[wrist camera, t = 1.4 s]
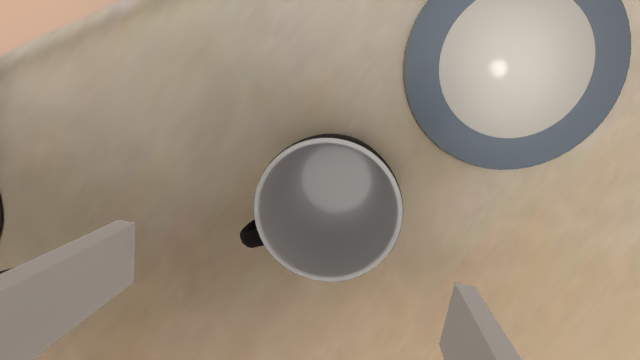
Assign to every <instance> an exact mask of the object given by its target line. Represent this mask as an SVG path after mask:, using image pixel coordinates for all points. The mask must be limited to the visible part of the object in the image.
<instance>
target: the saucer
mask: <svg viewBox="0 0 640 360" xmlns="http://www.w3.org/2000/svg"><path fill="white" fill-rule="evenodd" d="M630 55H631V32H630V26H629V20H628V17H627V14H626V10H625V7H624V5H623V3H622V1H621V0H429V1H428V2H427V4H426V5H425V6H424V8H423V9H422V11H421V13H420V14H419V16H418V18H417V20H416V22H415V24H414V26H413V29H412V31H411V34H410V36H409V40H408V44H407V47H406V51H405V59H404V85H405V92H406V96H407V100H408V103H409V106H410V108H411V111H412V113H413V116H414V118H415V119H416V121H417V123H418V124H419V126H420V128H421V129H422V130H423V131H424V133H425V134H426V135H427V136H428V137H429V138H430V139H431V140H432V141H433V142H434V143H435V144H436V145H437V146H438V147H440V148H441V149H442V150H444V151H445V152H447V153H448V154H450V155H452V156H454V157H456V158H458V159H460V160H462V161H464V162H467V163H469V164H472V165H475V166H480V167H484V168H490V169H500V170H504V169H519V168H526V167H531V166H535V165H538V164H542V163H545V162H547V161H550V160H552V159H555V158H557V157H559V156H561V155H562V154H564V153H566V152H568V151H570V150H571V149H573V148H574V147H575V146H577V145H578V144H580V143H581V142H582V141H584V140H585V139H586V138H587V137H588V136H589V135H590V134H591V133H593V132H594V131H595V129H596V128H597V127H598V126H599V125H600V124H601V123H602V122H603V121H604V119H605V118H606V116H607V115H608V113H609V112H610V111H611V109H612V108H613V106H614V104H615V102H616V100H617V99H618V97H619V95H620V93H621V90H622V88H623V85H624V83H625V80H626V76H627V72H628V68H629V63H630Z"/></svg>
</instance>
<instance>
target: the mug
mask: <svg viewBox="0 0 640 360" xmlns="http://www.w3.org/2000/svg"><path fill="white" fill-rule="evenodd" d="M254 218H255V219H254V220H253V221H251V222H250V223H249V224H248V225H246V226H245V227H244V228H243V229H242V231H241V233H240V238H241V240H242V242H243V244H244V245H246V246H247V247H250V248H254V247H258V246H263V245H265V247H266V249H267V250H268V251H269V253H270V254H271V255H272V256H273V257H274V258H275V259H276V260H277V261H278V262H279V263H280V264H281V265H283V266H284V267H285V268H287V269H288V270H290V271H292V272H293V273H296V274H298V275H300V276H302V277H305V278H308V279H312V280H317V281H324V282H336V281H344V280H349V279H352V278H355V277H358V276H361V275H363V274H365V273H367V272H368V271H370V270H372V269H373V268H374V267H376V266H377V265H378V264H379V263H381V262H382V261H383V260H384V259H385V257H386V256H387V255H388V254H389V253H390V251H391V250H392V248H393V246H394V245H395V243H396V241H397V239H398V236H399V233H400V230H401V226H402V220H403V201H402V196H401V191H400V188H399V185H398V183H397V180H396V178H395V176H394V174H393V172H392V170H391V169H390V167H389V166H388V165H387V163H386V162H385V161H384V160H383V158H382V157H381V156H380V155H379V154H378V153H377V152H376V151H375V150H373V149H372V148H371V147H370V146H368V145H367V144H365V143H363V142H362V141H360V140H358V139H355V138H352V137H349V136H346V135H340V134H322V135H316V136H312V137H308V138H306V139H303V140H300V141H298V142H296V143H294V144H292V145H291V146H289V147H287V148H286V149H284V150H283V151H282V152H280V153H279V154H278V155H277V156H276V157H275V158H274V159H273V160H272V161H271V162H270V163H269V165H268V166H267V167H266V169H265V170H264V172H263V174H262V176H261V178H260V180H259V182H258V185H257V188H256V192H255V197H254Z"/></svg>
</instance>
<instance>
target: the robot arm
mask: <svg viewBox="0 0 640 360" xmlns="http://www.w3.org/2000/svg"><path fill="white" fill-rule="evenodd" d="M1 225H2V210H1V203H0V231H1ZM135 233H136V223H135V222H130V221H125V220H119V219H118V220H116V221H114V222H112V223H110V224H108V225H105V226H103V227H101V228H99V229H97V230H95V231H92V232H90V233H88V234H86V235H84V236H82V237H79V238H77V239H75V240H73V241H71V242H69V243H66V244H64V245H62V246H60V247H58V248H56V249H53V250H51V251H49V252H47V253H45V254H42V255H40V256H38V257H36V258H34V259H32V260H29V261H27V262H25V263H23V264H21V265H19V266H16V267H14V268H11V269H7V270H4V271H0V360H33V359H35V358H36V357H37V356H39V355H40V354H41V353H42V352H44V351H45V350H46V349H48V348H49V347H50V346H52V345H53V344H54V343H55V342H57V341H58V340H59V339H61V338H62V337H63V336H65V335H66V334H67V333H68V332H70V331H71V330H72V329H74V328H75V327H76V326H78V325H79V324H80V323H81V322H83V321H84V320H85V319H87V318H88V317H89V316H91V315H92V314H93V313H94V312H96V311H97V310H98V309H100V308H101V307H102V306H104V305H105V304H106V303H107V302H109V301H110V300H111V299H113V298H114V297H115V296H117V295H118V294H119V293H120V292H122V291H123V290H124V289H126V288H127V287H128V286H130V285H131V284H132V283H133V282H134V259H135ZM439 345H440V348H441V351H442V354H443V357H444V360H522V359H521V358H520V356H519V354H518V353H517V351H516V350H515V348H514V347H513V345H512V344H511V342H510V340H509V339H508V337H507V336H506V334H505V333H504V331H503V329H502V328H501V326H500V325H499V323H498V322H497V320H496V318H495V317H494V315H493V314H492V312H491V311H490V309H489V308H488V306H487V304H486V303H485V301H484V300H483V298H482V297H481V295H480V293H479V292H478V290H477V289H476V287H475V286H470V285H464V284H459V283H455V284H454V288H453V292H452V296H451V300H450V304H449V308H448V312H447V316H446V320H445V324H444V328H443V332H442V336H441V339H440V343H439Z"/></svg>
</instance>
